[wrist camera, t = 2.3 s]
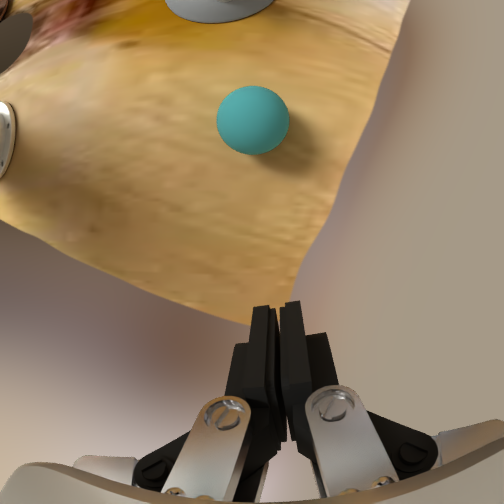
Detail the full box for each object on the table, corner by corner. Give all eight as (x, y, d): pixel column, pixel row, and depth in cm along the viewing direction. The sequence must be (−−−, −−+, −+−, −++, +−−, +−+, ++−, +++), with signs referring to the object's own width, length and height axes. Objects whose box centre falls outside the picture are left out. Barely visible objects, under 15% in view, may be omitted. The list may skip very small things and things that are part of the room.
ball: (229, 160, 25) (218, 161, 19) (217, 101, 23) (203, 87, 18) (292, 149, 24) (299, 147, 19) (280, 89, 22) (283, 71, 17)
